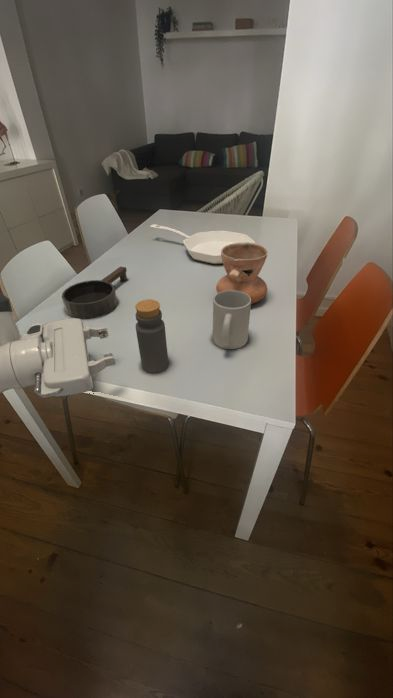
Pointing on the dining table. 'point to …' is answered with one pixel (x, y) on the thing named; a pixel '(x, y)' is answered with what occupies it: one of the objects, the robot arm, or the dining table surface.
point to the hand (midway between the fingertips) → (110, 344)
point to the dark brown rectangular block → (116, 275)
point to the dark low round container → (89, 299)
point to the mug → (231, 319)
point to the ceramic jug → (243, 270)
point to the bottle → (151, 336)
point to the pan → (209, 243)
